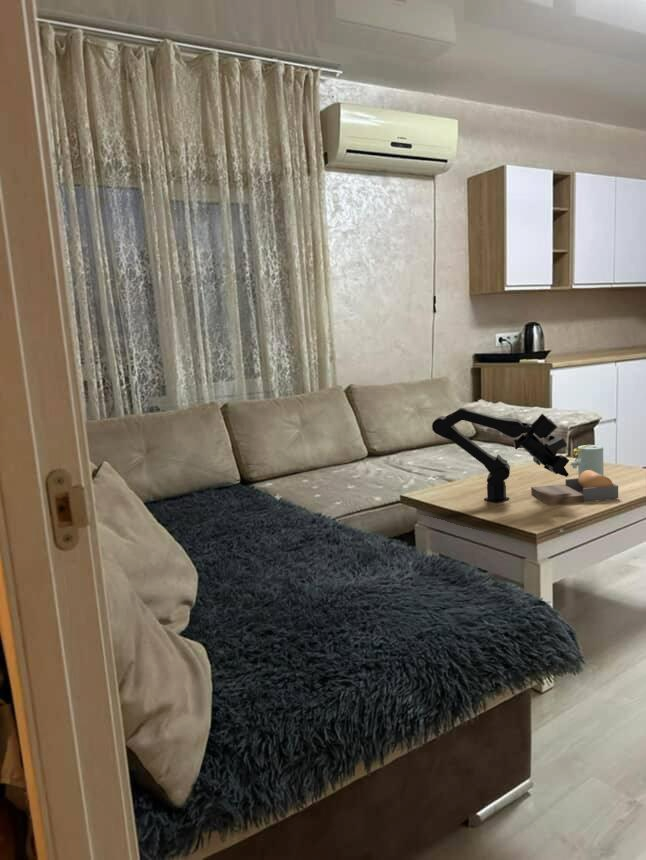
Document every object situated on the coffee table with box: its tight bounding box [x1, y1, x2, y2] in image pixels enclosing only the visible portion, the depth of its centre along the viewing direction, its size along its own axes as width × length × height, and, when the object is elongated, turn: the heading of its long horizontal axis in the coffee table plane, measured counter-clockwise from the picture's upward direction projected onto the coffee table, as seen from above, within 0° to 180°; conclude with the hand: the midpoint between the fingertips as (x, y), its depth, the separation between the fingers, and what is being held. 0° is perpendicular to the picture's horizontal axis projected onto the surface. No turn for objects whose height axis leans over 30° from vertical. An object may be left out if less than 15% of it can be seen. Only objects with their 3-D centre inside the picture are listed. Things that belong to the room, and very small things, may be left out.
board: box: [530, 483, 585, 506], centre depth 214 cm, size 12×16×2 cm
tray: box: [564, 477, 619, 503], centre depth 214 cm, size 12×15×4 cm
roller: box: [578, 470, 614, 488], centre depth 213 cm, size 11×7×7 cm
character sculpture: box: [570, 444, 605, 478], centre depth 233 cm, size 20×12×13 cm, turn 137°
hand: (567, 475), depth 213 cm, fingers closed
